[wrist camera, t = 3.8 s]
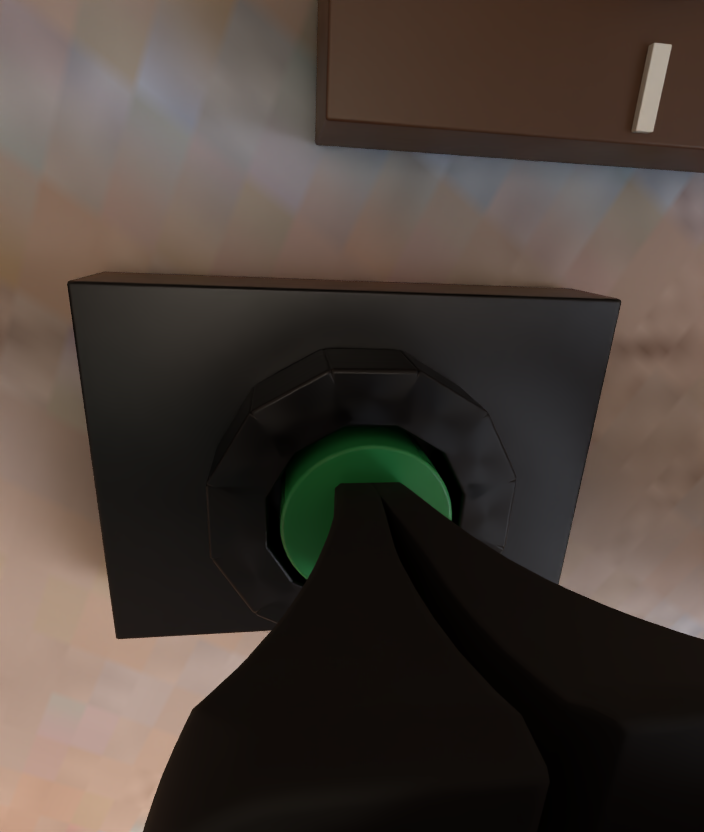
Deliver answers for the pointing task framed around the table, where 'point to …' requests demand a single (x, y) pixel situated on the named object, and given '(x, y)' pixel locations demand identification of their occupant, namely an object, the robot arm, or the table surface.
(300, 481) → the power button
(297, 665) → the robot arm
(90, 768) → the table surface
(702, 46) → the dimmer block
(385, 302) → the lamp base
